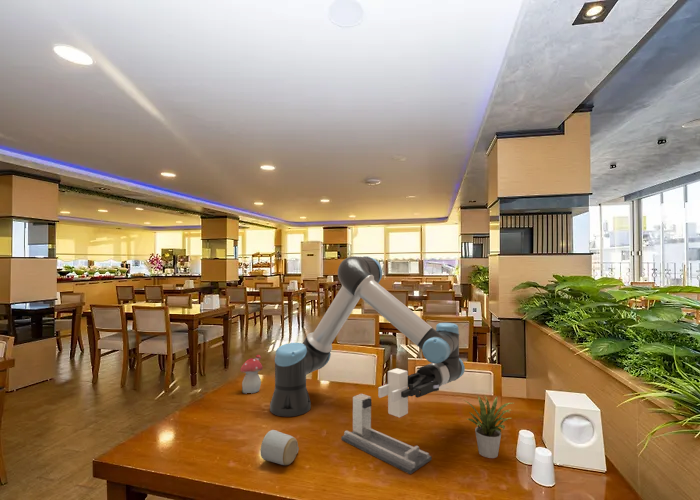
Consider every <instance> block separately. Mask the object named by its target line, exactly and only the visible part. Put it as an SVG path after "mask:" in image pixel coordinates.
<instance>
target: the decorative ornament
mask: <svg viewBox="0 0 700 500" xmlns="http://www.w3.org/2000/svg"><path fill="white" fill-rule="evenodd" d="M261 359H262V356H261V355H260V354H256V355H255V358H253V357H252V358H248V359H247V360H246V361H245V362H243V364H242V365H241V367H240V368H239V369H240V372H241V373H245V375H244V376H243V380H242V382H241V388H242V389H241V392H242V394H247V393H251V394H255V393H257V392H260V389H261V384H262V380H261V377H260V375H259V372H260V371H262V370H263V365H262V363H261V362H260V360H261Z"/></svg>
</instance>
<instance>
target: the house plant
mask: <svg viewBox="0 0 700 500" xmlns="http://www.w3.org/2000/svg"><path fill="white" fill-rule="evenodd" d="M483 395H484V397H483V396H482V397H483V398H484V401H483V400H482V398H481V397H480V395H477V398H478V399H477V400H478V403H479V408H480V410H479V412H480V413H479V412H478V410H477V409H476V407H474V406H473V405H472V403H470V402H469V401H468V400H467V401H466V400H465V399H464V400H463V401H464V402H466V403H467V404H468V405H470V407H471V408H472V409H473V410H474V412H475V414H476V415H477V416H476V415H474V414H473V413H472V412H469V414H470V415H471V416H472V418H467V420H468V421H470V422H472V423H473V424H475V425H476V427H475V431H474V432H475V437H476V443H477V449H478V454H479V455H480V456H482V457H484V458H489V459H495V458H498V455H499V449H500V445H501V437H502V433H503V432H502V430H505V428H506V426H505V425H504V424H503V423H504V422H505V421H506V422H507V421H508V419H509V420H510V419H511V417H507V418H504V417H503V415H504V414H506V413H510V414H511V412H510V409H506V410H503V409H504V408H505V407H507V406H508V405H512V404H514V402H506V403H504V404H502V405H501V406H500V407H499V408H498V409H497V410H496V408H497V405H498V399H499V398H498V396H496V397H495V398H494V399H493V402H492V405H491V406H490V401H489V399H488V398H487V396H486V395H485V394H483ZM495 412H496V413H495ZM477 417H478V418H477ZM499 421H500V422H499ZM498 422H499V423H498ZM497 423H498V425H497ZM501 428H502V429H501Z"/></svg>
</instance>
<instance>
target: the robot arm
mask: <svg viewBox="0 0 700 500" xmlns="http://www.w3.org/2000/svg"><path fill="white" fill-rule="evenodd" d="M337 277H338V280H339V282H340V284H341V287H340V288H339V290H338V292H337V293H336V295H335V297H334V299H332V302H331V303H330V305H329V307H328V308H327V310H326V312H325V313H324V314H323V316H322V318H321V320H320V322H318V325H316V328H315V329H314V331H313V332H309V333H307V335H306V336H305V338H304V340H303V342H290V343H285V344H283V345H280V346H279V347H277V349H276V351H275V357H274V390H273V394H272V397H271V401H270V403H269V412H270V413H271V414H273V415H275V416H277V417H283V418H284V417H286V418H288V417H297V416H301V415H304V414H307V413H308V412H309V411H310V410H311V407H312V406H311V405H312V404H311V403H312V402H311V399H310V395H309V392H308V388H307V375H310V374H311V373H313V372H315V371H318V370H320V369H322V368H324V367H325V366H326V365H327V364H328V362H329V361H330V359H331V355H332V354H331V352H332V350H333V345H332V343H333V342H334V341H335V339H336V337H337V336H338V334H339V332H340V331H341V330H342V328H343V326H344V324H345V323H346V322H347V320H348V319H349V317H350V315H351V313H352V312H353V311H354V309H355V307H356V305H357V304H358V303H359V301H360V299H362V300H363V301H364V302H365V303H366V304H368V305H369V307H371V308H372V309H373V310H375V312H377V313H378V314H379V315H380V316H382V317H383V318H384V319H385V320H386V321H387V322H388V323H390V324H391V325H392V326H393V327H394V328H396V329H397V330H398V331H399V332H400V333H401V334H403V336H405V337H406V338H408V339H409V340H410V341H411V342H412V343H413V344H415V345H416V346H417V347H418V348H419V349H420V350H421V351H422V355H423V357H424V359H426V360H427V361H428V362H430V363H428V364H426V365H422V366H420V367H419V368H418V369H417V371H416V373H411V374H409V375H408V386H405V387H402V388H400V389H397V390H394V391H392V392H391V395H392V402H396V401H398V400H400V399H403V398H405V397H408V398H409V397H414V396H415V398H422V397H424V396H426V395H428V394H431V393H432V392H433V393H434V392H437V391H440V387H442V386H444V385H447V384H448V383H451V382H453V381H457V380H458V379H459V378H462V376H463V375H464V373H465V369H466V367H465V364H464V361H463V360H462V359H461V358H460V331H459V329H460V328H459V326H458V324H456V323H453V322H439V323H437V324H436V327H435V328H436V329H434V328H433V327H432V326H431V325H430V324H429V323H427V322H426V320H424V319H422V318H421V317H420V316H419V315H417V313H415V312H414V311H413V310H411V309H410V308H409V307H408V306H406V305H405V304H404V303H403V302H402V301H400V299H398V298H397V297H395V296H394V295H393V294H392V293H391V292H390V291H388V290H387V289H386V288H385V287H384V286H382V285H381V284H379V283H380V281H381V280H382V278H383V269H382V265H381V264H380V262H379V261H378V260H377V259H376V258H373V257H370V256H354V255H353V256H348V257H346V258H345V259H343V260H342V261H341V262H340V264H339V266H338V268H337ZM386 381H387V382H386V384H384V385H381V386H379V387H378V388H377V389H378V390H377V391H378V394H377V395H378V398H379V399H381V398H384V397H387V396H388V379H386Z"/></svg>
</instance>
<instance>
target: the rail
mask: <svg viewBox="0 0 700 500" xmlns="http://www.w3.org/2000/svg"><path fill="white" fill-rule="evenodd" d="M341 441H342V442H344V443H346V444H348V445H351V446H353V447H355V448H357V449H358V450H361V451H363V452H365V453H367V454H368V455H371V456H373V457H374V458H377V459H379V460H381V462H382V461H383V462H385V463H386V464H388V465H391V466H393V467H395V468H396V469H399V470H400V471H403V472H404V473H406V474H408V475H411V474H413V473H414V472H416V471H417V470H419V469H420V468H421V467H422V468H423V466H425V465H426V464H428V463H429V462H430V461H432V455H430V453H429V452H427V451H424V450H422V449H420V446H418V445H414V446H413V445H410V444H408V443H406V442H403V441H402V440H399V439H396V438H394V437H391V436H390V435H387V434H385V433H383V432H381V431H377V430H375V429H373V428H372V396H370V395H367V394H363V393H359V394H357V395H354V396H352V431H349V430H345V431H344V433H343V435H342V436H341Z"/></svg>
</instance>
